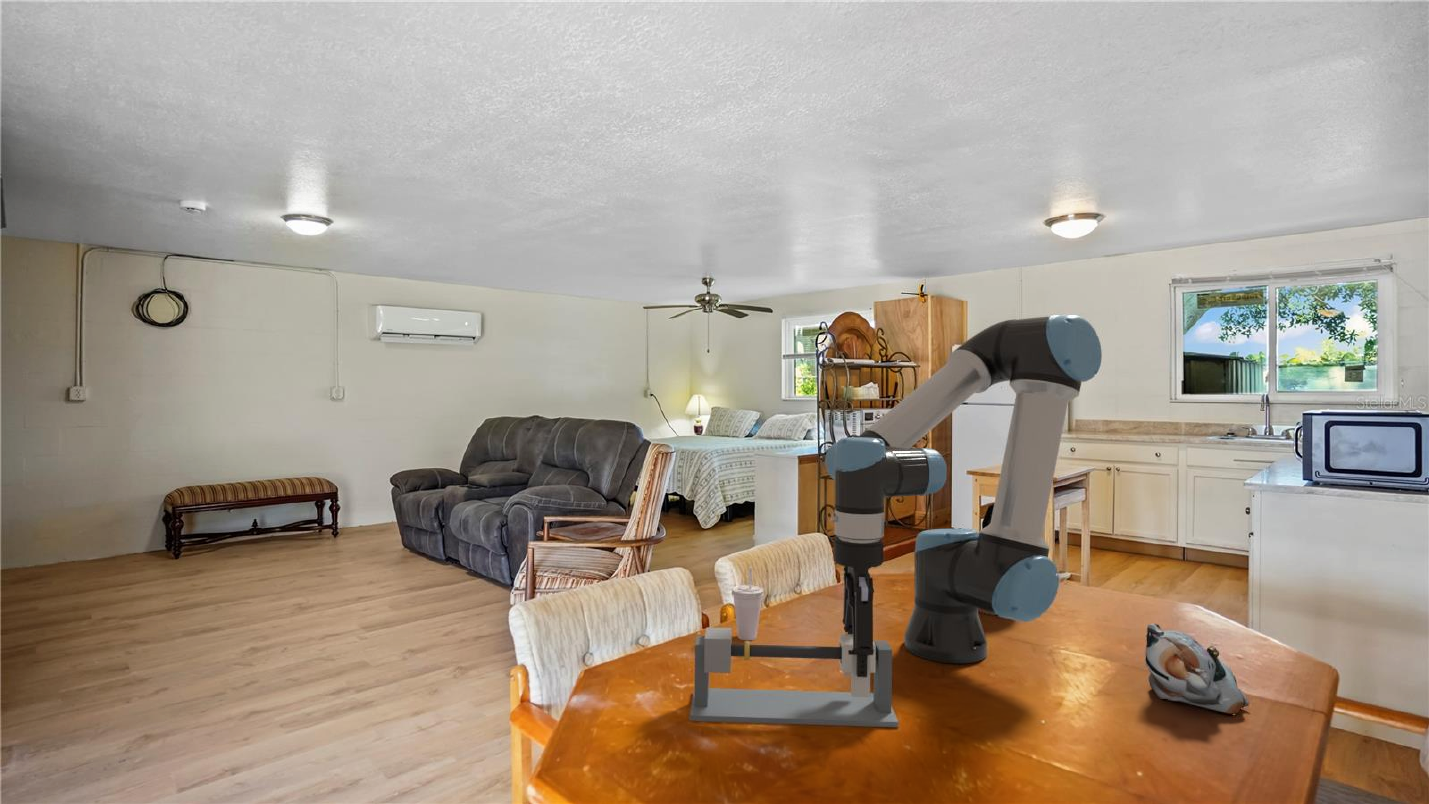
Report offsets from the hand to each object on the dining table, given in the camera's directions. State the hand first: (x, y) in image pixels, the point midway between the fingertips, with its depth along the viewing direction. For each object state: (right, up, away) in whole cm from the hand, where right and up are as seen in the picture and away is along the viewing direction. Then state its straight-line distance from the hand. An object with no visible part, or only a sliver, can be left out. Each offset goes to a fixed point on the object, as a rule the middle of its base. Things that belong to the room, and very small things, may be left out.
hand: (856, 684), depth 113 cm
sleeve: (0, +3, 0) cm, 3 cm away
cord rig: (-10, -4, +1) cm, 11 cm away
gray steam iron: (+55, -5, +5) cm, 56 cm away
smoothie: (-15, -3, +33) cm, 36 cm away
